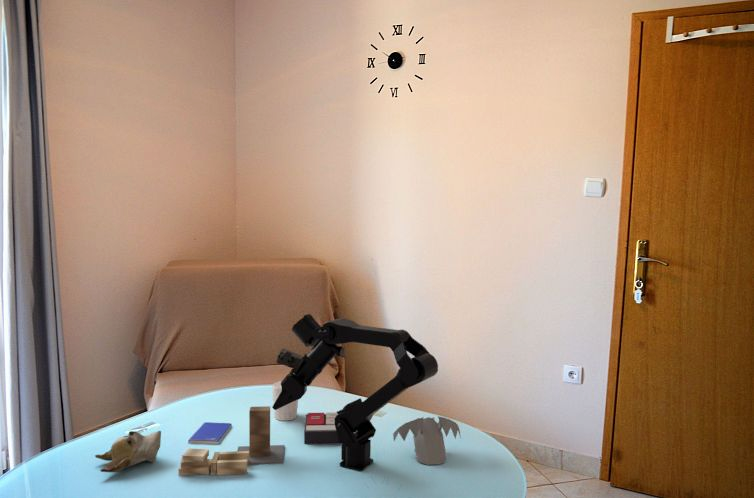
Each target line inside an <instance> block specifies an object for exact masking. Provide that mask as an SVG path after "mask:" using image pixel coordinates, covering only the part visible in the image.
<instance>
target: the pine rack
mask: <svg viewBox="0 0 754 498" xmlns="http://www.w3.org/2000/svg"><path fill="white" fill-rule="evenodd" d="M211 459H212V461H211V469H210V475H211V476H221V475H222V476H223V475H224V476H226V475H247V474H248V465H250V464H249V451H237V450H236V451H214V453H213V456H212V458H211Z"/></svg>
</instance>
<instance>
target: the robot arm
mask: <svg viewBox="0 0 754 498" xmlns="http://www.w3.org/2000/svg"><path fill="white" fill-rule="evenodd" d="M291 332H292V334H294V335H295V337H297V339H298V340H299V341H300V342H301V343H302V344H303V345H304V346H305V347H307V348H308V347H312V348H311V349H310V350H309V351H308V352H306V353H305V354H304V355H300V354H298V353H297V352H293V351H291V350H289V349H286V348H281V349H280V351H279V352H278V353H279V354H278V355H277V357H276V360H275V363H276V364H278V365H283V366H285V367H287V368H291V370H290V371H289V373H287V375H286V376H284V378H283V379H282V380H280V381H281V387H282V391H281V393H280V395H279V396H278V398H277V400H276V402H275V403H273V404H274V405H272V409H273V411H274V410H277V409H279V408H281V407H283V406H285V405H287V404H289V403H291V402H294V401H296V400H298V401H299V400H301V399H302V398H303V397H304V396H305V394H306V392H308V391H307V390H308V387H309V386H310V385H312V382H314V380H315V379H316V378H317V377H318V376H319V375H320V374H321V373H322V372H323V370H324V369H325V368H326V367H327V366H328V365H329V363H330V362H331V361H332V360H333V359H334V358H335V357H336V356H337V357H339V358H342V359H344V358H346V353H345V349H346V348H345V346H342V344H347V343H357V344H364V345H371V346H377V347H384V348H385V347H386V348H390V350H391V351H392V353H393V356H394V359H395V362H396V364H397V366H398V367H399V369H398V371H397V373H396V375H395V376H394V377H393V378H391V380H389V381H388V382H387V383H385V384H384V385H383V386H382V387H380V388H378V389H377V390H376V391H375V392H374V393H372V394H371V395H369V396H368V397H367V398H366V399H365V400H362V398H360V397H359V398H358V399H355V400H353V401H352V402H349V403H347V404H346V405H344V406H343V408H342V409H340V410H338V411H336V413H337V414H338V415H337V416H336V417H335V419H334V420H335V428H336V432H337V435H338V439H339V443H341V444H340V445H341V449H340V450H341V452H340V454H341V456H340V457H341V462H339V466H340V467H345V468H348V469H351V470H355V471H359V472H362V471H364V470H365V469H366V468H367V467H369V465H371V464H372V463H374V458H371V448H372V447H371V442H372V441H371V438H374V437H375V434H376V431H377V429H376V428H375V426H374V425H373V423H372V422H371V420H372V419H373V416H374V414H376V413H377V412H378V411H380V410H382V408H384V407H385V406H386V405H387V404H389V403H390V402H391V401H393V400H394V399H396V398H397V397H398V396H399V395H402V393H404V392H405V391H406V390H407V389H409V388H412V387H414V386H417V385H418V384H420V383H422V382H424V381H426V380H428V379H430V378H432V377H434V376H436V375H437V373H438V372H439V364H438V360H437V359H436V357H435V356H434V355H432V354H431V353H430V351H428V350H427V348H426V347H425V346H424V345H423V344H421V343H420V342H419V341H418V340H416V339H415V338H413V337H412V335H411V333H409V332H408V331H407V330H404V329H394V328H385V327H375V326H367V325H361V324H359V323H357V322H355V321H354V320H351V319H348V318H345V317H342V318H341V317H340V318H336V319H332V320H329V321H326V322H324V324H323V325H322V326H321V325H320V323H319V322H318V321H316V319H315V318H314V317H313V315H312V314H311V313H309V314H304V315H303V317H302V318H300V319H299V320H298V321H296V323H294V324H293V326H292V327H291ZM408 353H409V354H411V355H412V356H413V357H410V355H409V354H408Z"/></svg>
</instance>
